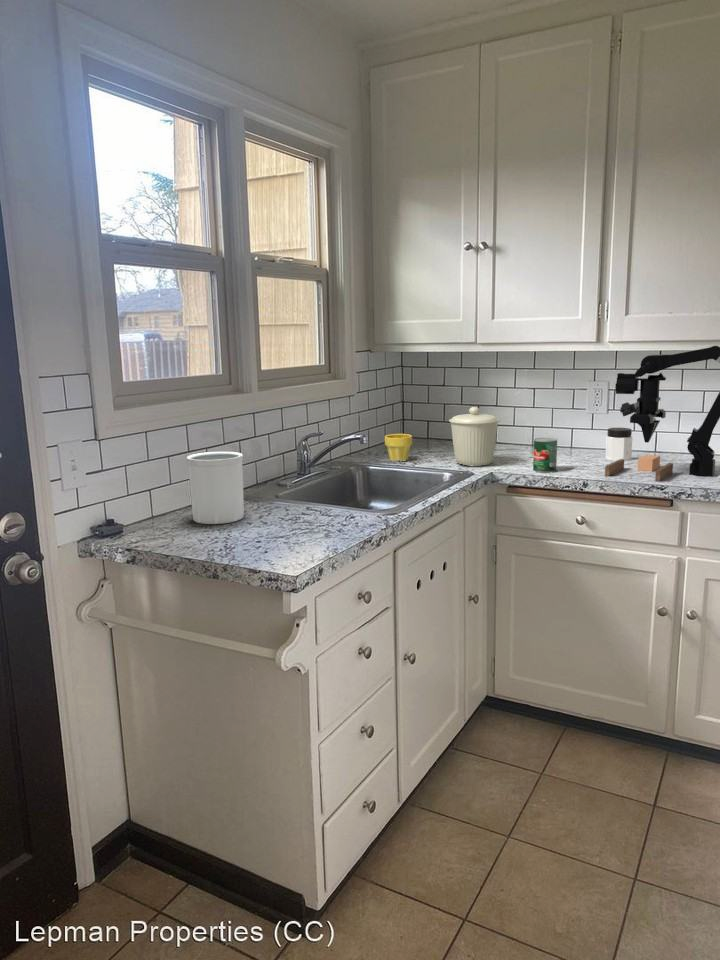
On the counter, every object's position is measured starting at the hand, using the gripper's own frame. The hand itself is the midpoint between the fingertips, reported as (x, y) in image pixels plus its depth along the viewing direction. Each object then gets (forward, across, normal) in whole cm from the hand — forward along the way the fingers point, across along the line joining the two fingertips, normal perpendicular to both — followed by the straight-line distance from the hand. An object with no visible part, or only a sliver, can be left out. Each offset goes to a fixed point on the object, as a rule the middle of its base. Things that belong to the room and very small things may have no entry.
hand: (646, 442), depth 237 cm
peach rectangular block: (+10, -5, 0) cm, 11 cm away
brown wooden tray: (+11, +6, 0) cm, 13 cm away
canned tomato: (+11, +8, -31) cm, 34 cm away
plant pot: (+11, +17, -86) cm, 89 cm away
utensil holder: (+11, +113, -81) cm, 140 cm away
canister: (+11, +9, -58) cm, 60 cm away
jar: (+11, -19, -15) cm, 27 cm away
